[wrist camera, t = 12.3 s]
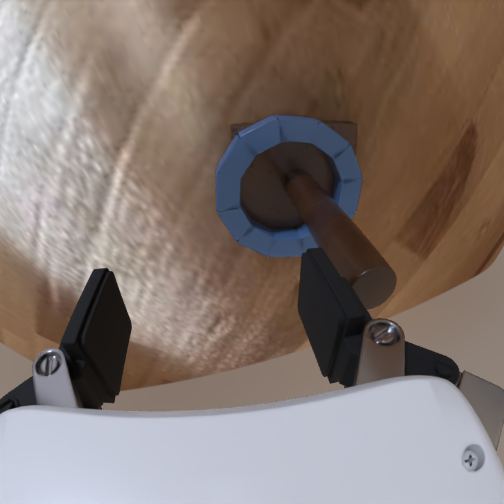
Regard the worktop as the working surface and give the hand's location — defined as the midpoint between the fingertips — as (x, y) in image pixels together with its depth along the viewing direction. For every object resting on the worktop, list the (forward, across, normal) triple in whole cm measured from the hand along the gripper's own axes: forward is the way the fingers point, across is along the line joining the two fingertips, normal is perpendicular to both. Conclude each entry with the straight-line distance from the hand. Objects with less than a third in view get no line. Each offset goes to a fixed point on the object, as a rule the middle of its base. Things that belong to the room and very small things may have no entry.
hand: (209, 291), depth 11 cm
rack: (+12, -7, 0) cm, 14 cm away
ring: (+11, -6, 0) cm, 12 cm away
